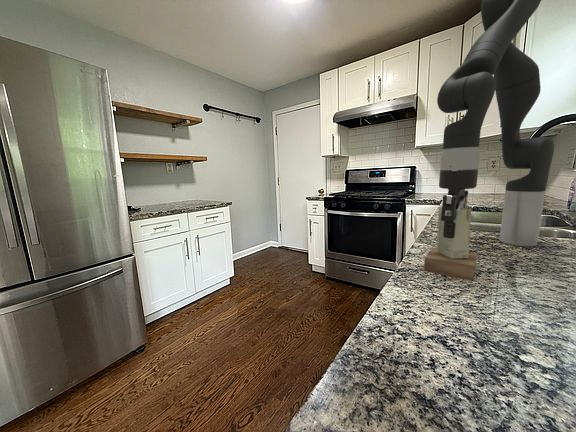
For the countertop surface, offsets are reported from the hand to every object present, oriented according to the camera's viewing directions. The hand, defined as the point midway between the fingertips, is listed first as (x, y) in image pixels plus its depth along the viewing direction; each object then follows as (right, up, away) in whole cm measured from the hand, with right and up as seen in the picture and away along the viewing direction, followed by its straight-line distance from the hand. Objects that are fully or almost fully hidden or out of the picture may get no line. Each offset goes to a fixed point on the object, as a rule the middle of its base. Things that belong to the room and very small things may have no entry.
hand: (453, 234), depth 62 cm
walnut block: (0, -9, +2) cm, 10 cm away
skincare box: (+1, -6, +1) cm, 6 cm away
